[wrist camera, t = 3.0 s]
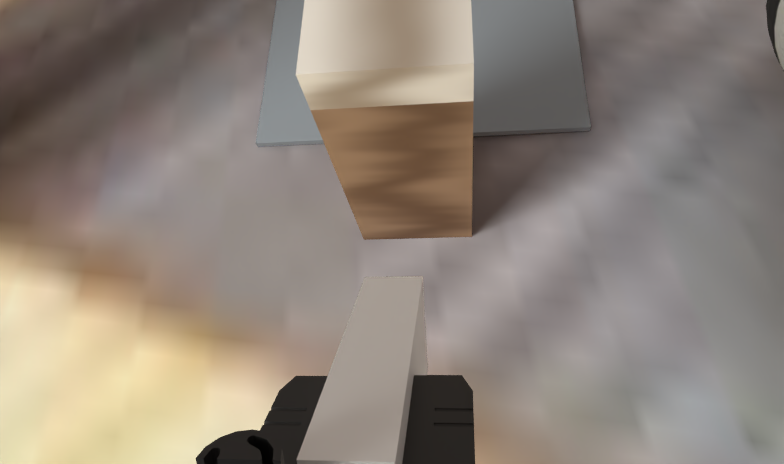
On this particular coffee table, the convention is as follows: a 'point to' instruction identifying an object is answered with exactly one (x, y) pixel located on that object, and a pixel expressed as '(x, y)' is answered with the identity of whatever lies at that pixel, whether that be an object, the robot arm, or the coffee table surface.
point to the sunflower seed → (776, 27)
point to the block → (395, 109)
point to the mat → (491, 73)
